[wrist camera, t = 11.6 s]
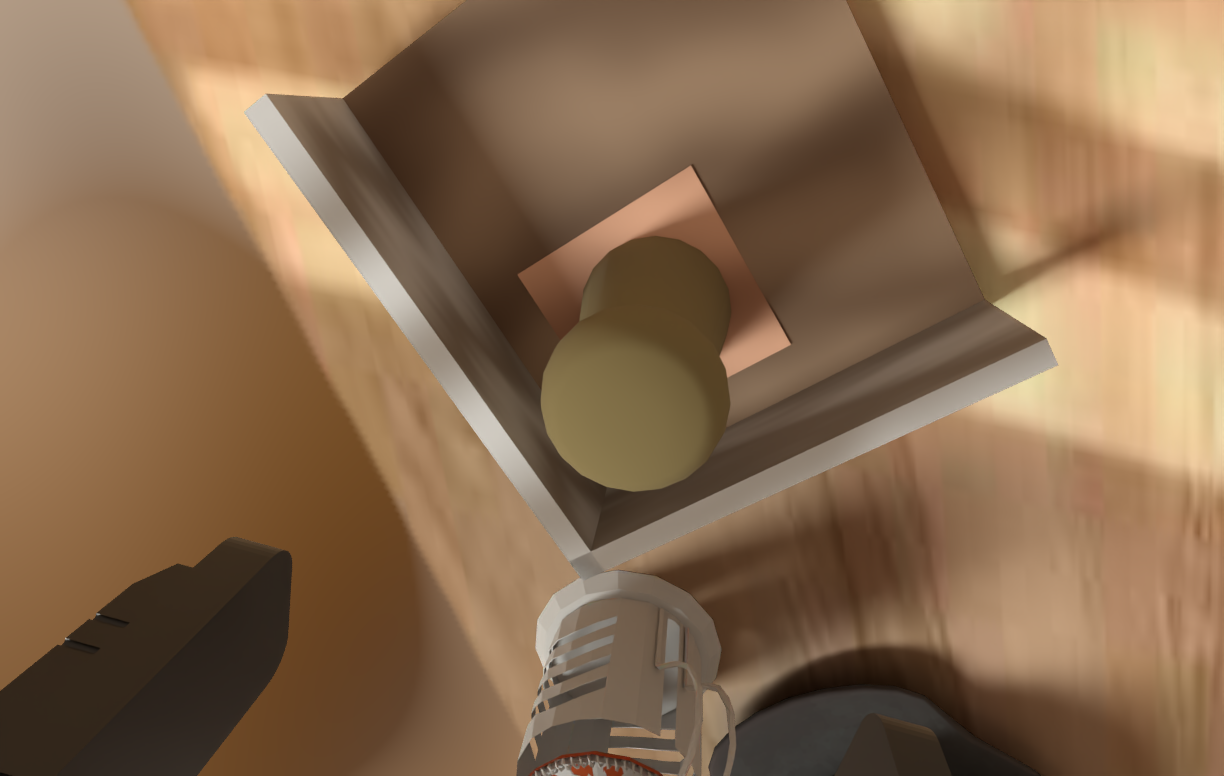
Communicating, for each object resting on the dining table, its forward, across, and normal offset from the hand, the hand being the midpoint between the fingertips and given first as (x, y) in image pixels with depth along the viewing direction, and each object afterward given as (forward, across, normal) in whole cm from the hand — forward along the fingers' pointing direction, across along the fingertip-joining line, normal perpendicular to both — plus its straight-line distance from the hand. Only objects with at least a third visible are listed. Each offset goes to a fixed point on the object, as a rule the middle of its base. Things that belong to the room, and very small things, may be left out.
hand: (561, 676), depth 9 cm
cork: (+20, 0, 0) cm, 20 cm away
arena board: (+21, +1, -4) cm, 22 cm away
